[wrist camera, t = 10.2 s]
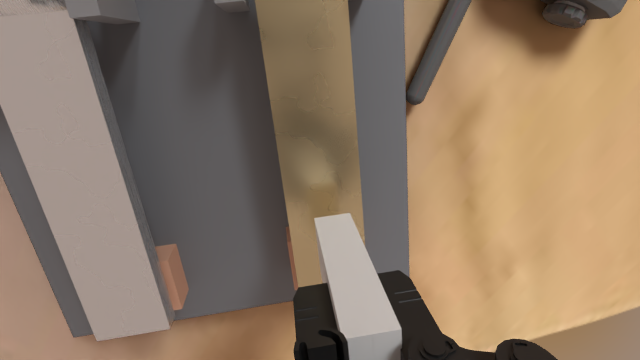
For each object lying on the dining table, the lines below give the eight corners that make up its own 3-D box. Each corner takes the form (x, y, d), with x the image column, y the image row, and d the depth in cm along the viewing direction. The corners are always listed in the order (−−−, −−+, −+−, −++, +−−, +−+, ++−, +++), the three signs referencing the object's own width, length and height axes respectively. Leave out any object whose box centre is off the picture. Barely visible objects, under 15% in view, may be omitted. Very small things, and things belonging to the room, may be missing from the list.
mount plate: (-62, -56, 16) (-243, -110, 10) (387, -93, 17) (442, -159, 12) (89, 313, 23) (31, 399, 17) (398, 263, 25) (436, 327, 19)
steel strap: (-27, -26, 13) (-64, -35, 12) (73, -35, 14) (48, -45, 12) (108, 322, 19) (94, 346, 17) (176, 311, 19) (168, 333, 18)
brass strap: (247, -51, 14) (245, -63, 13) (336, -59, 14) (344, -71, 13) (299, 290, 20) (301, 310, 18) (362, 280, 20) (370, 299, 19)
